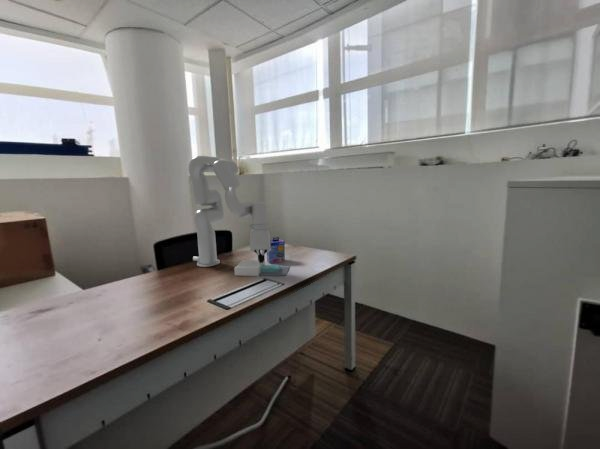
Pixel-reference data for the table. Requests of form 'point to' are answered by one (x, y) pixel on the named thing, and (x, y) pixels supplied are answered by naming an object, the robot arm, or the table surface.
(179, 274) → the table surface
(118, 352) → the table surface
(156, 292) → the table surface
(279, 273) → the mat
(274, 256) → the ink cartridge box
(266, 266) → the teal tile
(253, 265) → the grey flat block
